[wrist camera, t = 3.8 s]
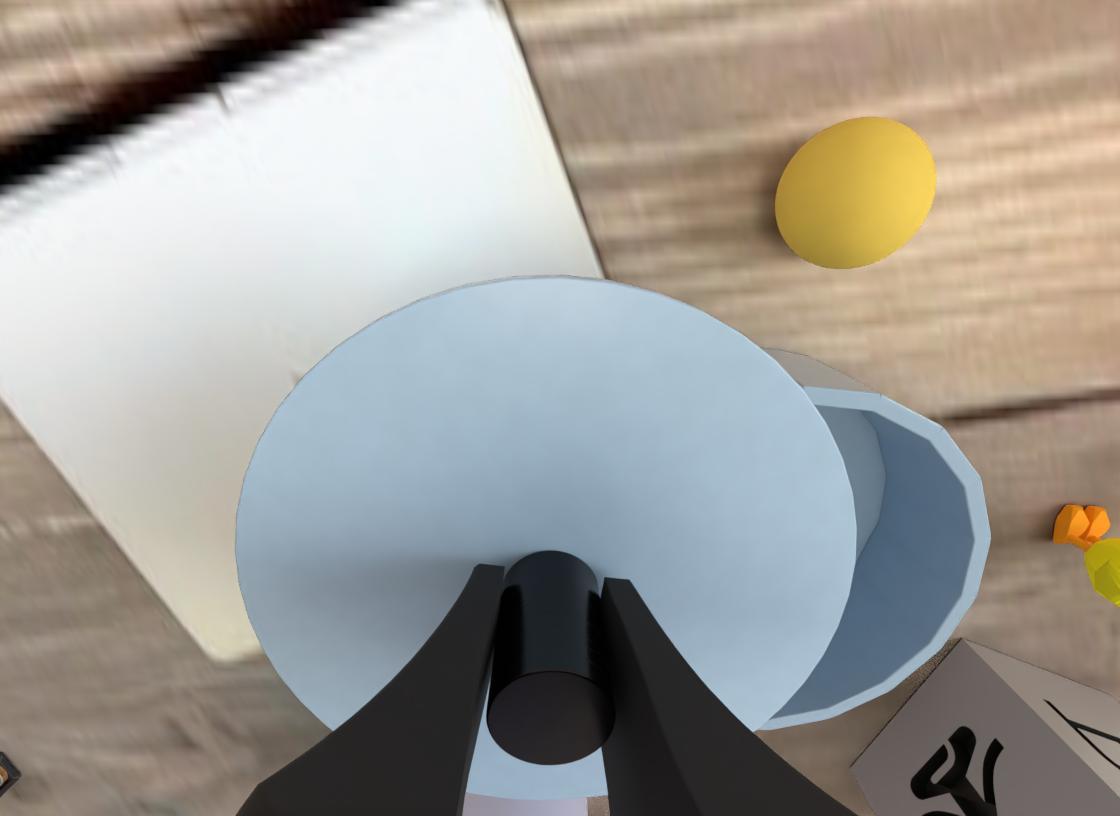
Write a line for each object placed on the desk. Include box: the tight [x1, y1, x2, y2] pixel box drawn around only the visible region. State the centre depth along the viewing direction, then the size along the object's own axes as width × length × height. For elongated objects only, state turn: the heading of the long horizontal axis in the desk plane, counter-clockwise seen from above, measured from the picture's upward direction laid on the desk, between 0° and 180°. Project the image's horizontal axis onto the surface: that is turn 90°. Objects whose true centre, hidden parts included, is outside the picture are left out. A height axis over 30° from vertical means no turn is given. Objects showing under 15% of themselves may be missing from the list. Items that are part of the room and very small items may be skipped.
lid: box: [235, 275, 857, 800], centre depth 12 cm, size 15×15×5 cm
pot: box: [757, 348, 991, 730], centre depth 21 cm, size 14×14×6 cm
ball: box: [775, 117, 936, 269], centre depth 17 cm, size 5×5×5 cm
